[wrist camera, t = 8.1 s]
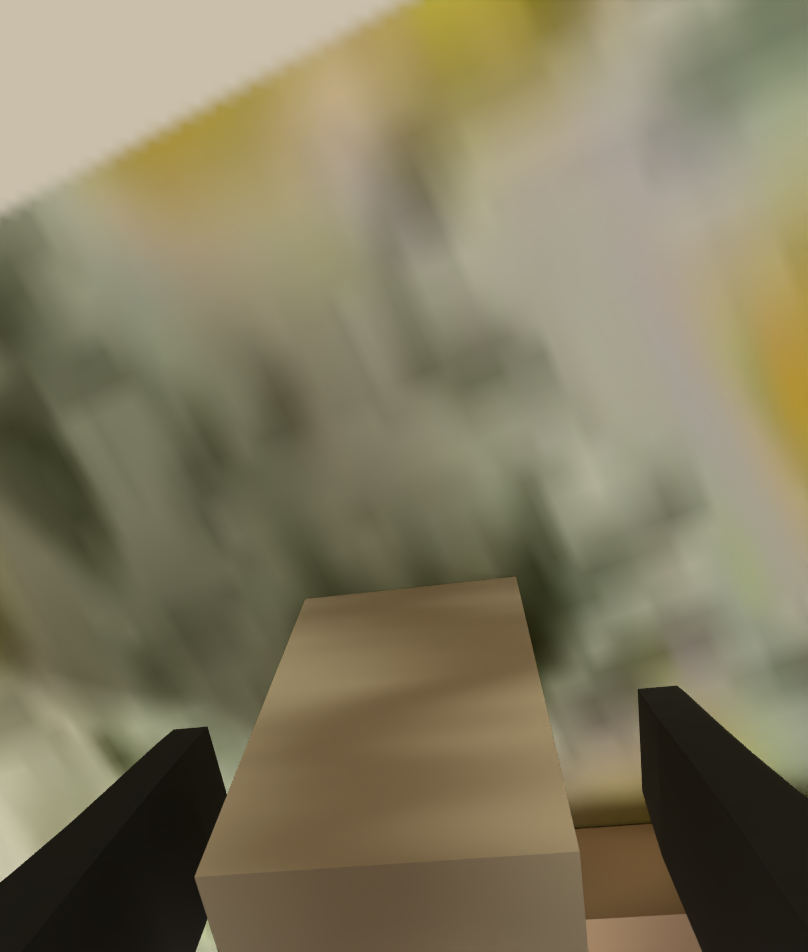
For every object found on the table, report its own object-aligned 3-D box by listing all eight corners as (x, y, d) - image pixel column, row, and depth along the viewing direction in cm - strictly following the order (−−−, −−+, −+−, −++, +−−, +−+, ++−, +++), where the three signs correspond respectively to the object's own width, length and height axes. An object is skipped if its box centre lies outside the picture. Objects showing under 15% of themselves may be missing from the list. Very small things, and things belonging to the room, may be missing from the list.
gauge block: (515, 575, 12) (597, 928, 6) (534, 752, 13) (619, 1206, 7) (305, 598, 13) (163, 953, 6) (342, 767, 14) (255, 1210, 7)
